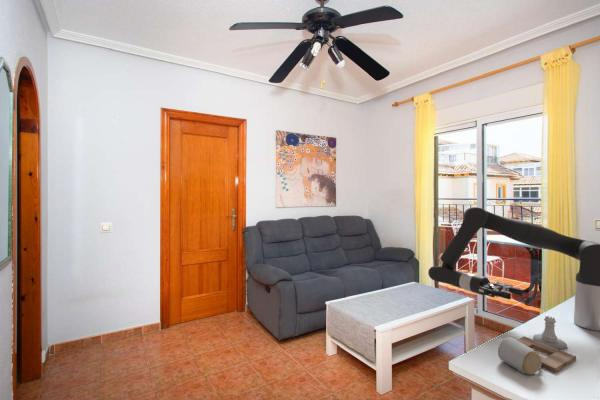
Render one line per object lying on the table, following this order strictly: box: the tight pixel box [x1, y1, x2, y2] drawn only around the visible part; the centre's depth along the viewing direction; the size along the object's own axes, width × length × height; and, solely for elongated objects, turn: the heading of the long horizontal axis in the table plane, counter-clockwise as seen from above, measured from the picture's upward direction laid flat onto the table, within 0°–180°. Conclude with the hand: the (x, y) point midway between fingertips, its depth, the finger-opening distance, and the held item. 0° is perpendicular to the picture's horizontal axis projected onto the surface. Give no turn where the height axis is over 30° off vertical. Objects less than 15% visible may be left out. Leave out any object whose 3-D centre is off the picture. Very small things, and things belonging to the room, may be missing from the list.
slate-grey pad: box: [532, 333, 568, 351], centre depth 103 cm, size 9×9×1 cm
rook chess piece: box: [540, 315, 558, 343], centre depth 103 cm, size 4×4×8 cm
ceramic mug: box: [497, 336, 542, 375], centre depth 88 cm, size 11×8×8 cm
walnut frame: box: [516, 335, 577, 374], centre depth 95 cm, size 14×14×1 cm
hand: (516, 294), depth 112 cm, fingers open, 8 cm apart
